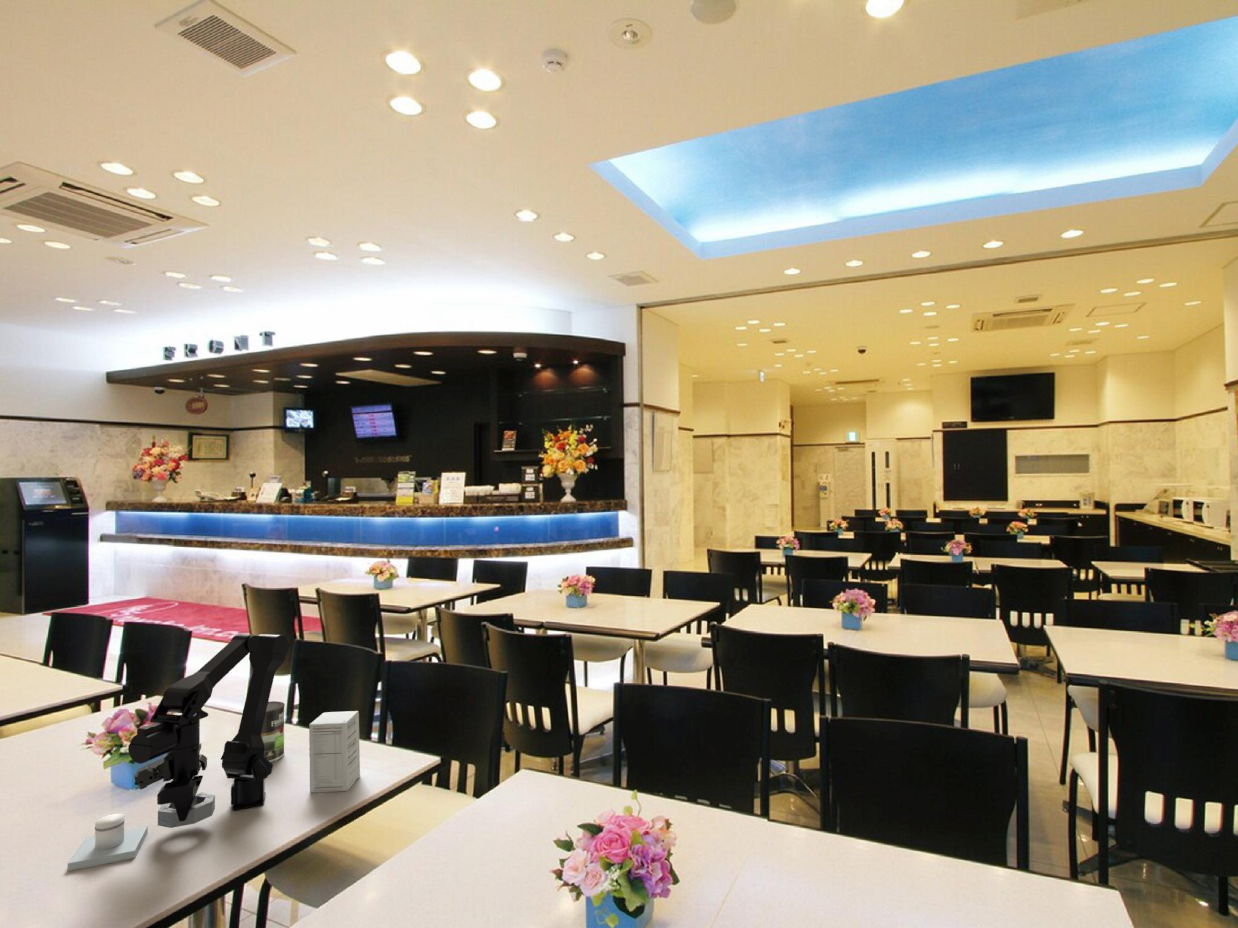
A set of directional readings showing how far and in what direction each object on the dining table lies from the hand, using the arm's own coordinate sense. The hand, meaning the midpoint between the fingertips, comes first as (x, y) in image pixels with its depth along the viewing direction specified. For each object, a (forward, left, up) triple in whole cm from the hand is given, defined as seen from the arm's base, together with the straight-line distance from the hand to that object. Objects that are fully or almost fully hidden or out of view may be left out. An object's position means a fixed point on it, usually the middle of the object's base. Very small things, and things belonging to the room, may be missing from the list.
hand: (183, 818), depth 144 cm
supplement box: (-30, -16, -5) cm, 35 cm away
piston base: (+13, -2, -5) cm, 14 cm away
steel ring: (0, -4, -1) cm, 4 cm away
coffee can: (-12, -43, -5) cm, 45 cm away
